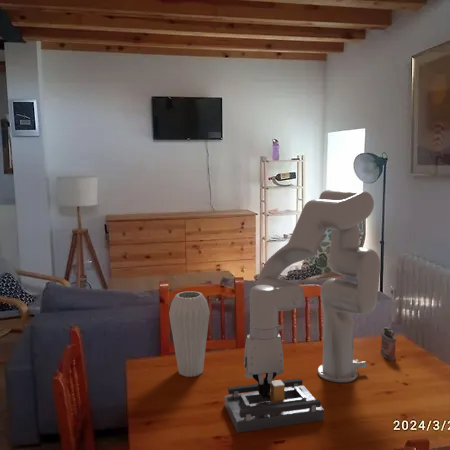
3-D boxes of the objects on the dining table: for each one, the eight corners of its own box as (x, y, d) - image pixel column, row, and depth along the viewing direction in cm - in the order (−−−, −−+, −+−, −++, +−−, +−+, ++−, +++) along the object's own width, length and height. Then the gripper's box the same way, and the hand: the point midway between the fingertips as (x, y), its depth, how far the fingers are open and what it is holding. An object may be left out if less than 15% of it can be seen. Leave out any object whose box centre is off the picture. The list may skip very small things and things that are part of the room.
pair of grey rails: (300, 385, 138) (300, 378, 137) (320, 410, 124) (321, 402, 124) (227, 394, 133) (227, 387, 132) (241, 421, 119) (241, 413, 119)
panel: (303, 394, 138) (303, 379, 137) (323, 420, 125) (324, 402, 124) (224, 405, 133) (224, 388, 132) (237, 432, 119) (237, 414, 119)
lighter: (378, 351, 169) (379, 324, 168) (387, 350, 170) (388, 324, 168) (388, 360, 161) (389, 332, 160) (397, 359, 162) (398, 332, 160)
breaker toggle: (280, 397, 130) (280, 379, 130) (284, 402, 127) (284, 384, 127) (270, 399, 130) (270, 381, 129) (274, 404, 127) (274, 385, 126)
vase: (205, 382, 147) (204, 301, 143) (165, 379, 149) (163, 299, 146) (214, 364, 160) (213, 289, 156) (177, 361, 162) (175, 288, 159)
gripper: (285, 324, 130) (285, 386, 133) (233, 329, 127) (234, 392, 129) (295, 333, 123) (294, 398, 126) (240, 339, 120) (241, 406, 122)
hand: (264, 395), depth 127 cm, fingers closed
